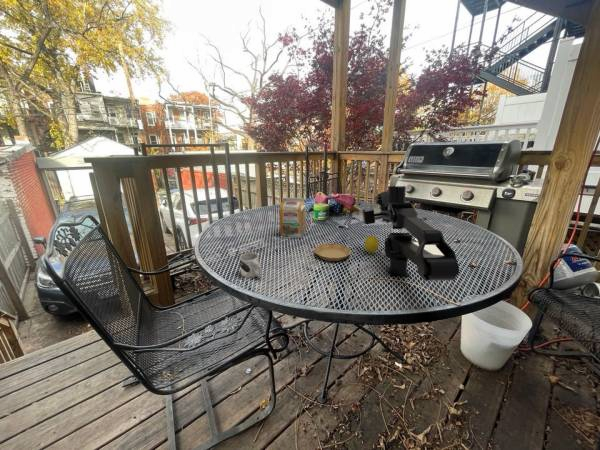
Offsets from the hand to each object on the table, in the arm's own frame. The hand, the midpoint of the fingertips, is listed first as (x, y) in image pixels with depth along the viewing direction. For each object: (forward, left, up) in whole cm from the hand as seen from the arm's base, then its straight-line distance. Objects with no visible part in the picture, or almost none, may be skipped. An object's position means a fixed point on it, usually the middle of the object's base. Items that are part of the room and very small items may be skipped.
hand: (380, 211), depth 108 cm
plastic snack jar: (+13, +39, -16) cm, 44 cm away
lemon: (-9, +5, -16) cm, 19 cm away
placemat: (-5, -19, -16) cm, 25 cm away
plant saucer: (-11, +21, -16) cm, 29 cm away
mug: (-28, +50, -16) cm, 59 cm away
